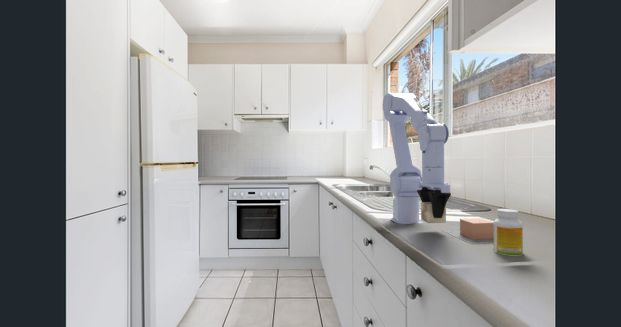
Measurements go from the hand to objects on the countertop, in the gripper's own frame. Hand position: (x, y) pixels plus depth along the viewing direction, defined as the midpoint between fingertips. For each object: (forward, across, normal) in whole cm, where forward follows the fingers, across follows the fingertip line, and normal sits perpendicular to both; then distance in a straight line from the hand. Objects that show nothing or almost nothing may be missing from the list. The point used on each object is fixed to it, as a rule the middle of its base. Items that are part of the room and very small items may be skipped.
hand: (433, 216), depth 88 cm
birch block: (+1, 0, 0) cm, 1 cm away
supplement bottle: (+5, -20, -7) cm, 22 cm away
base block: (+4, -6, -9) cm, 12 cm away
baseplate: (+5, -6, -9) cm, 12 cm away
